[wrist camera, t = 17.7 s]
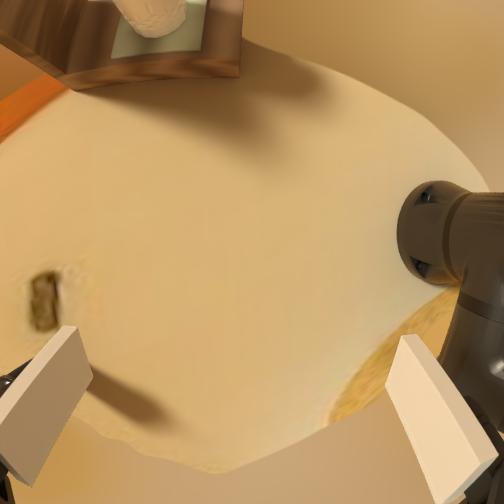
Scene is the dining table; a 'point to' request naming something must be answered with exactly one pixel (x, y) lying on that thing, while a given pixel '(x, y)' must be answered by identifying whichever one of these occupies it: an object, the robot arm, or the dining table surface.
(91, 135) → the dining table surface
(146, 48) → the walnut shelf
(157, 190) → the dining table surface
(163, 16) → the white cup
